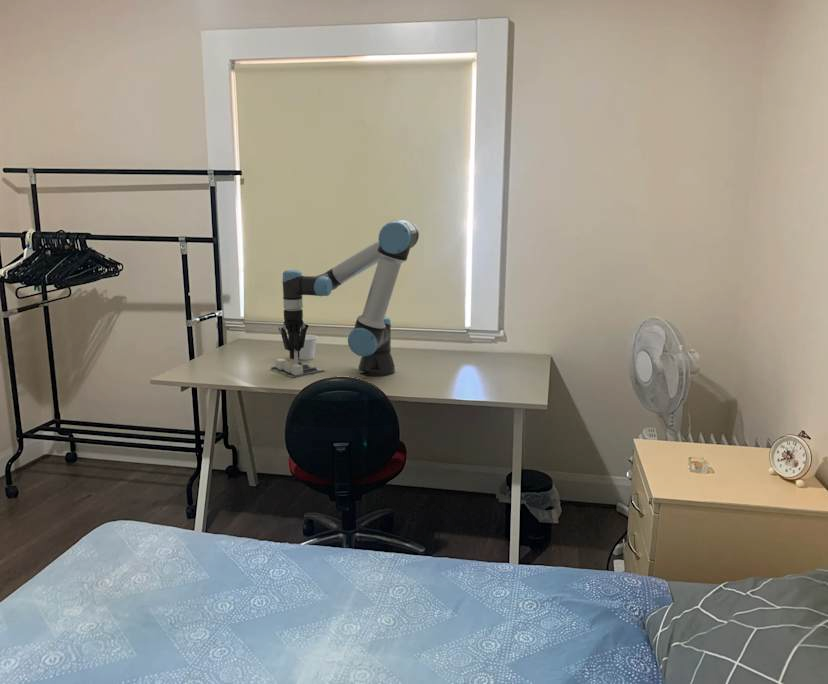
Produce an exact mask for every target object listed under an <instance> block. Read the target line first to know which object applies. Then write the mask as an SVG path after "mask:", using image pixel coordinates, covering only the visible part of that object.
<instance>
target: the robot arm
mask: <svg viewBox="0 0 828 684" xmlns="http://www.w3.org/2000/svg"><path fill="white" fill-rule="evenodd" d="M419 237H420V233H419V229H418V227H417V225H416V224H415V223H414V222H412V221H411V220H408V219H398V220H391V221H389V222H387V223H386V224H384V225H383V226H382V228H381V229H380V231H379V234H378V240H376V241H375V242H373V243H372V244H370V245H368V246H366V247H365V248H362V250H360V251H358V252H357V253H355V254H354V255H351V256H350V257H349V258H347V259H345V260H343V261H342V262H340V263H339V264H337V265H336V266H334V267H332V268H330V269H329V270H327V271H326V272H323V273H321V274H318V275H315V276H314V275H313V276H311V275H310V276H309V275H308V276H307V275H303V274H302V273H303V272H302V271H301V270H299V269H298V270H297V269H288V270H284V271H283V273H282V293H283V294H282V300H283V309H284V310H283V320H284V322H283V325H282V326H281V327H278V331H279V332H280V335H281V338H282V339H281V340H282V342H283V347H284V349H285V350H287V351H289V358H290V361H292V362H295V363H296V364H298V362H299V351H300V350H301V348H303V347H304V342H305V336H306V335H307V330H308V329H309V325H308V324H306V323H304V320H303V318H304V313H303V312H304V311H303V308H304V307H303V306H304V305H303V296H316V297H328V296H330V295H331V293H332V291H334V290H336V289H337V288H338V287H339V286H341V285H342V284H345V283H346V282H347V281H349V280H351V279H352V278H355V277H356V276H358V275H360V274H362V273H363V272H364V271H367V270H368V269H369V268H371V267H373V266H375V265H376V268H375V272H374V275H373V278H372V281H371V283H370V284H371V285H370V288H369V292H368V295H367V298H366V301H365V305H364V308H363V310H362V314H361V315H359V316H357V317H356V321H355V324H354V327H353V329H352V330H351V331H350V332H349V334H348V337H347V344H348V347H349V349H350V350H351V352H352V353H353V354H355V355H357V356H358V357H361V358H360V361H359V365H358V371H361V372H360V374H361V375H365V376H371V377H374V376H375V377H376V376H377V377H378V376H379V377H380V376H389V375H391V374H394V373H395V372H396V367H395V366H396V365H395V363H394V362H395V361H394V360H393V356H392V353H391V351H392V350H391V348H392V347H391V342H392V336H391V333H392V329H391V327H392V323H391V319H390V318H389V317H386V313H387V310H388V307H389V304H390V300H391V297H392V294H393V291H394V289H395V285H396V281H397V278H398V275H399V272H400V269H401V266H402V264H403V263H404V262H407V259H408V257H409V254H410V250H411V249H412V248H413V247H415V245H416V244H417V243H418V240H419Z"/></svg>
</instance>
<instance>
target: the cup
mask: <svg viewBox="0 0 828 684" xmlns="http://www.w3.org/2000/svg"><path fill="white" fill-rule="evenodd" d="M317 339H318V336H317V335H316V334H315V335H314V334H306V336H305V342H304V347H303V348H301V350H300V351H299V358H298V360H302V361H309V360H314V358H315V351H316V345H317Z"/></svg>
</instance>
